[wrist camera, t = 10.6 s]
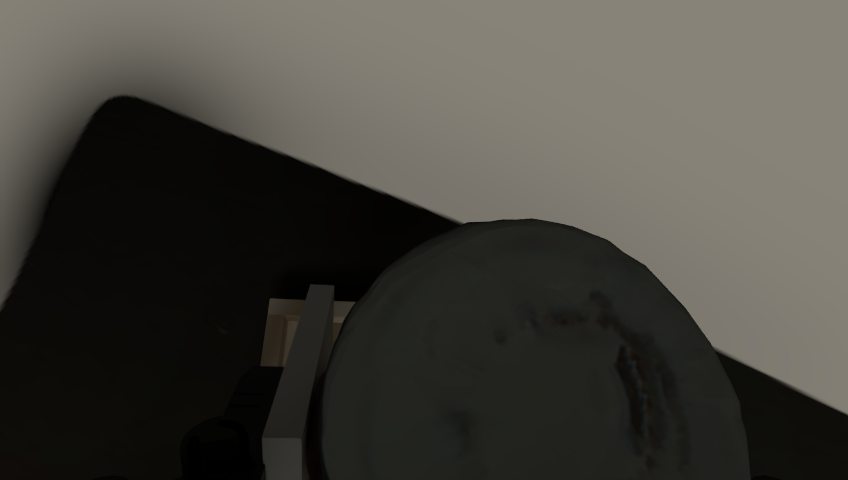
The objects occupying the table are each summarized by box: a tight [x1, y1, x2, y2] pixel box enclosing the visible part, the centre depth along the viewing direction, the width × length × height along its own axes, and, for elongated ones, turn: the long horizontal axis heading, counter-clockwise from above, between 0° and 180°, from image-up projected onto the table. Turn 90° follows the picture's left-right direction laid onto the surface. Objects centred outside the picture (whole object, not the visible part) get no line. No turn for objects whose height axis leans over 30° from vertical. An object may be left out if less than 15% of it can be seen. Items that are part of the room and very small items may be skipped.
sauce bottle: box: [307, 219, 750, 480], centre depth 13 cm, size 7×6×20 cm
